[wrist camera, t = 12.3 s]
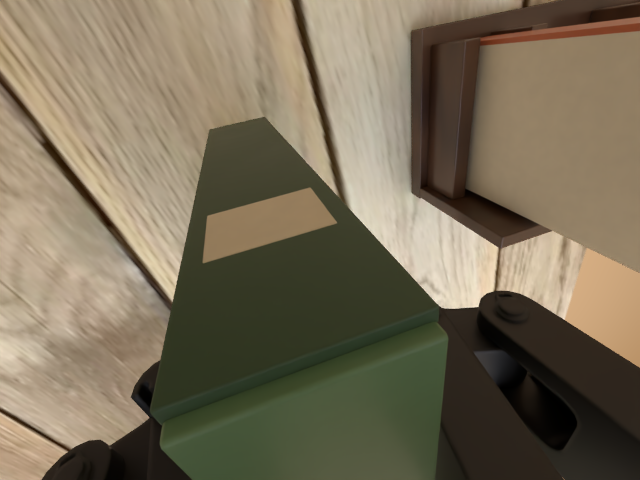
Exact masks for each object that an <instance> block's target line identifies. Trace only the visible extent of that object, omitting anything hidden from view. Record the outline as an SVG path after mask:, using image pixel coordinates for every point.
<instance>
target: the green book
mask: <svg viewBox="0 0 640 480" xmlns="http://www.w3.org/2000/svg"><path fill="white" fill-rule="evenodd" d="M438 321H439V306H438V305H437V304H436V303H435V301H434V300H433V299H432V298H431V297H430V296H429V295H428V294H427V293H426V292H425V291H424V290H423V288H422V287H421V286H420V285H419V284H418V283H417V282H416V281H415V280H414V279H413V278H412V277H411V275H410V274H409V273H408V272H407V271H406V270H405V269H404V268H403V267H402V266H401V265H400V263H399V262H398V261H397V260H396V259H395V258H394V257H393V256H392V255H391V254H390V253H389V252H388V250H387V249H386V248H385V247H384V246H383V245H382V244H381V243H380V242H379V241H378V240H377V239H376V237H375V236H374V235H373V234H372V233H371V232H370V231H369V230H368V229H367V228H366V227H365V225H364V224H363V223H362V222H361V221H360V220H359V219H358V218H357V217H356V216H355V215H354V214H353V212H352V211H351V210H350V209H349V208H348V207H347V206H346V205H345V204H344V203H343V202H342V201H341V199H340V198H339V197H338V196H337V195H336V194H335V193H334V192H333V191H332V190H331V189H330V187H329V186H328V185H327V184H326V183H325V182H324V181H323V180H322V179H321V178H320V177H319V176H318V174H317V173H316V172H315V171H314V170H313V169H312V168H311V167H310V166H309V165H308V164H307V163H306V161H305V160H304V159H303V158H302V157H301V156H300V155H299V154H298V153H297V152H296V151H295V149H294V148H293V147H292V146H291V145H290V144H289V143H288V142H287V141H286V140H285V139H284V138H283V136H282V135H281V134H280V133H279V132H278V131H277V130H276V129H275V128H274V127H273V126H272V125H271V123H270V122H269V121H268V120H267V119H266V118H265V117H262V118H257V119H253V120H249V121H245V122H240V123H236V124H232V125H227V126H223V127H219V128H214V129H210V130H209V135H208V139H207V144H206V149H205V153H204V158H203V163H202V167H201V172H200V177H199V181H198V186H197V191H196V196H195V200H194V205H193V210H192V214H191V219H190V224H189V228H188V233H187V238H186V242H185V247H184V252H183V257H182V261H181V266H180V271H179V275H178V280H177V285H176V289H175V294H174V299H173V303H172V308H171V313H170V317H169V322H168V327H167V332H166V336H165V341H164V346H163V350H162V355H161V360H160V364H159V369H158V374H157V378H156V383H155V388H154V393H153V397H152V402H151V407H150V413H151V415H152V416H153V417H154V418H155V419H156V420H157V421H158V422H159V423H160V424H161V425H162V431H161V437H160V446H161V449H162V450H163V451H164V452H165V453H166V454H167V455H168V456H169V457H170V458H171V459H172V460H173V461H174V462H175V463H176V464H177V465H178V466H179V467H180V468H181V469H182V470H183V471H184V472H185V473H186V474H187V475H188V476H189V477H190V478H191V479H192V480H435V473H436V463H437V452H438V442H439V432H440V421H441V411H442V401H443V390H444V380H445V369H446V359H447V349H448V336H447V333H446V332H445V331H444V330H443V328H442V327H441V326H440V325H439V324H438Z"/></svg>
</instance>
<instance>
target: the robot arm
mask: <svg viewBox="0 0 640 480" xmlns="http://www.w3.org/2000/svg"><path fill="white" fill-rule="evenodd" d="M437 305H438V304H437ZM438 306H439V305H438ZM438 324H439V325H440V326H441V327H442V328H443V330H444V331H445V332H446V333H447V336H448V349H447V359H446V369H445V380H444V390H443V401H442V411H441V421H440V432H439V442H438V452H437V463H436V473H435V480H564V479H565V480H640V368H639V367H637V366H636V365H634V364H633V363H631V362H630V361H628V360H626V359H625V358H623V357H622V356H620V355H619V354H617V353H615V352H614V351H612V350H611V349H609V348H607V347H606V346H604V345H603V344H601V343H600V342H598V341H596V340H595V339H593V338H592V337H590V336H589V335H587V334H585V333H584V332H582V331H581V330H579V329H578V328H576V327H574V326H573V325H571V324H570V323H568V322H567V321H565V320H563V319H562V318H560V317H559V316H557V315H555V314H554V313H552V312H551V311H549V310H548V309H546V308H544V307H543V306H541V305H540V304H538V303H537V302H535V301H533V300H532V299H530V298H528V297H526V296H524V295H521V294H519V293H514V292H510V291H494V292H491V293H487V294H486V295H485V296H483V297H482V298H481V300H480V303H479V307H475V308H461V309H444V308H441V307H440V306H439V321H438ZM159 364H160V361H158V362H156V363H155V364H153V365H152V366H151V367H150V368H149V369H148V370H147V371H146V372H145V373H143V375H142V376H141V378H140V379H139V380H138V382H137V383H136V385H135V387H134V390H133V393H132V396H131V398H132V399H133V400H134V401H135V402H136V403H137V404H138V405H139V407H140V408H141V409H142V410H143V411H144V412H145V413H146V414H147V415H148V416H149V417H150V418H149V419H148V420H147V421H145V422H144V423H143V424H142V425H140V426H139V427H137V428H136V429H134V430H133V431H131V432H130V433H128V434H127V435H125V436H124V437H122V438H121V439H119V440H118V441H116V442H115V443H113V444H112V445H110V446H109V445H108V444H106V443H105V442H103V441H101V440H91V441H87V442H85V443H83V444H80V445H78V446H76V447H74V448H73V449H72V450H70V451H69V452H68V453H66V454H65V455H63V456H62V457H61V458H60V459H59V460H58V461H57V462H56V463H55V464H54V465H53V466H52V467H51V468H50V469H49V470H48V471H47V473H46V474H45V476H44V477H43V479H42V480H192V479H191V478H190V477H189V476H188V475H187V474H186V473H185V472H184V471H183V470H182V469H181V468H180V467H179V466H178V465H177V464H176V463H175V462H174V461H173V460H172V459H171V458H170V457H169V456H168V455H167V454H166V453H165V452H164V451H163V450H162V449H161V446H160V437H161V431H162V425H161V424H160V423H159V422H158V421H157V420H156V419H155V418H154V417H153V416H152V415H151V413H150V407H151V402H152V397H153V393H154V388H155V383H156V378H157V374H158V369H159ZM561 476H562V477H561ZM563 478H564V479H563Z"/></svg>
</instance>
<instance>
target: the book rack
mask: <svg viewBox="0 0 640 480" xmlns="http://www.w3.org/2000/svg"><path fill="white" fill-rule="evenodd" d="M635 17H640V0H560V1H555V2H550V3H545V4H540V5H535V6H530V7H526V8H521V9H516V10H511V11H506V12H501V13H496V14H491V15H486V16H481V17H476V18H471V19H466V20H461V21H457V22H452V23H447V24H442V25H437V26H432V27H427V28H422V29H417V30H412V194H414V195H416V196H417V197H419V198H422V199H424V200H425V201H427V202H428V203H430V204H432V205H433V206H435V207H436V208H438V209H439V210H441V211H443V212H444V213H446V214H447V215H449V216H450V217H452V218H453V219H455V220H457V221H458V222H460V223H461V224H463V225H464V226H466V227H467V228H469V229H471V230H472V231H474V232H475V233H477V234H478V235H480V236H481V237H483V238H485V239H486V240H488V241H489V242H491V243H492V244H494V245H496V246H497V247H499V248H504V247H507V246H510V245H512V244H515V243H518V242H521V241H524V240H527V239H530V238H533V237H536V236H539V235H542V234H545V233H548V232H550V231H552V230H550V229H548V228H546V227H544V226H542V225H540V224H538V223H536V222H534V221H531V220H529V219H527V218H525V217H523V216H521V215H519V214H517V213H515V212H513V211H511V210H509V209H507V208H505V207H503V206H501V205H499V204H497V203H494V202H492V201H490V200H488V199H486V198H484V197H482V196H480V195H478V194H476V193H474V192H472V191H470V190H468V189H466V188H465V186H466V177H467V167H468V157H469V148H470V138H471V128H472V118H473V109H474V99H475V89H476V80H477V70H478V60H479V51H480V41H481V38H482V37H486V36H493V35H501V34H509V33H516V32H524V31H532V30H540V29H548V28H556V27H564V26H572V25H580V24H588V23H596V22H603V21H611V20H619V19H627V18H635Z"/></svg>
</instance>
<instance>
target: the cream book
mask: <svg viewBox="0 0 640 480" xmlns="http://www.w3.org/2000/svg"><path fill="white" fill-rule="evenodd" d="M465 188H466V189H468V190H470V191H472V192H474V193H476V194H478V195H480V196H482V197H484V198H486V199H488V200H490V201H492V202H494V203H497V204H499V205H501V206H503V207H505V208H507V209H509V210H511V211H513V212H515V213H517V214H519V215H521V216H523V217H525V218H527V219H529V220H531V221H534V222H536V223H538V224H540V225H542V226H544V227H546V228H548V229H550V230H552V231H554V232H556V233H558V234H560V235H562V236H564V237H566V238H568V239H571V240H573V241H575V242H577V243H579V244H581V245H583V246H585V247H587V248H589V249H591V250H593V251H595V252H597V253H599V254H601V255H603V256H605V257H608V258H610V259H612V260H614V261H616V262H618V263H620V264H622V265H624V266H626V267H628V268H630V269H632V270H634V271H636V272H638V273H640V17H635V18H627V19H619V20H611V21H603V22H596V23H588V24H580V25H572V26H564V27H556V28H548V29H540V30H532V31H524V32H516V33H509V34H501V35H493V36H486V37H482V38H481V41H480V51H479V60H478V70H477V80H476V89H475V99H474V109H473V118H472V128H471V138H470V148H469V157H468V167H467V177H466V186H465Z"/></svg>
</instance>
